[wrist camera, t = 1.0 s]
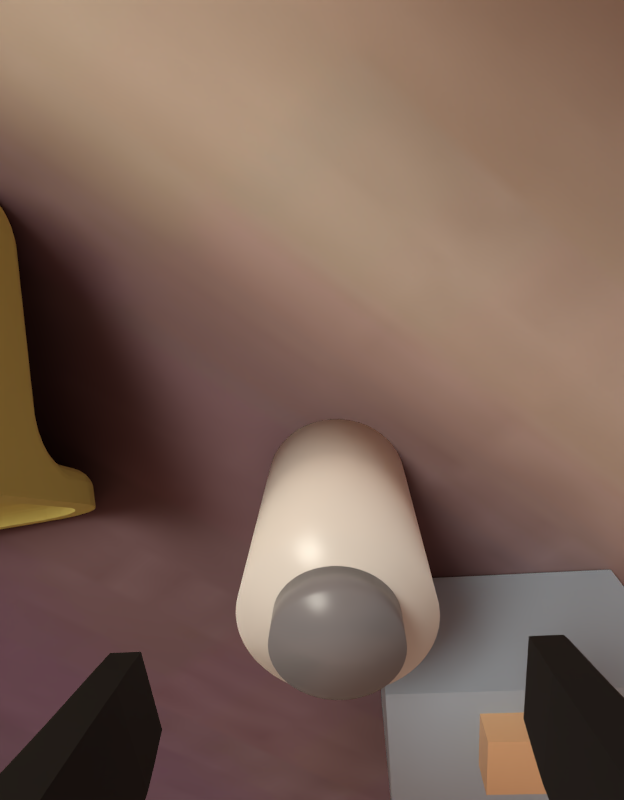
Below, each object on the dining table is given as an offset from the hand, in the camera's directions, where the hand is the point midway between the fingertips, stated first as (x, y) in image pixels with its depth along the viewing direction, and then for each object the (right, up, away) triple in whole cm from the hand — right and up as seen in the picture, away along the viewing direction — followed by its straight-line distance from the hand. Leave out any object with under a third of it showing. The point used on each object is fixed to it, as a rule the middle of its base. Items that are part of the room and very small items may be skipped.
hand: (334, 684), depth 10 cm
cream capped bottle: (0, +3, +7) cm, 8 cm away
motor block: (+6, -4, +9) cm, 11 cm away
